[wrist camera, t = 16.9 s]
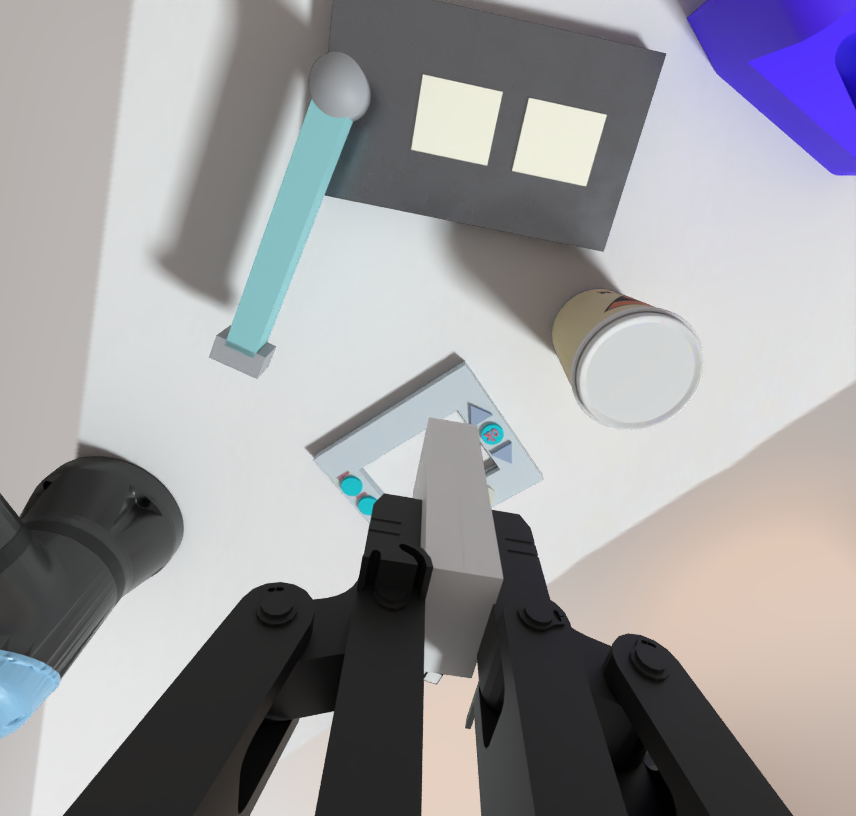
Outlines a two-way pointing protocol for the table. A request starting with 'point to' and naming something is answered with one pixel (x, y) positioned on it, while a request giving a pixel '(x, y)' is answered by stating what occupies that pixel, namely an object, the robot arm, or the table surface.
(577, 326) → the coffee cup
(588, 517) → the table surface
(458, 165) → the plate
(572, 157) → the label
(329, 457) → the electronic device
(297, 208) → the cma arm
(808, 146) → the bracket
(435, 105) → the label
